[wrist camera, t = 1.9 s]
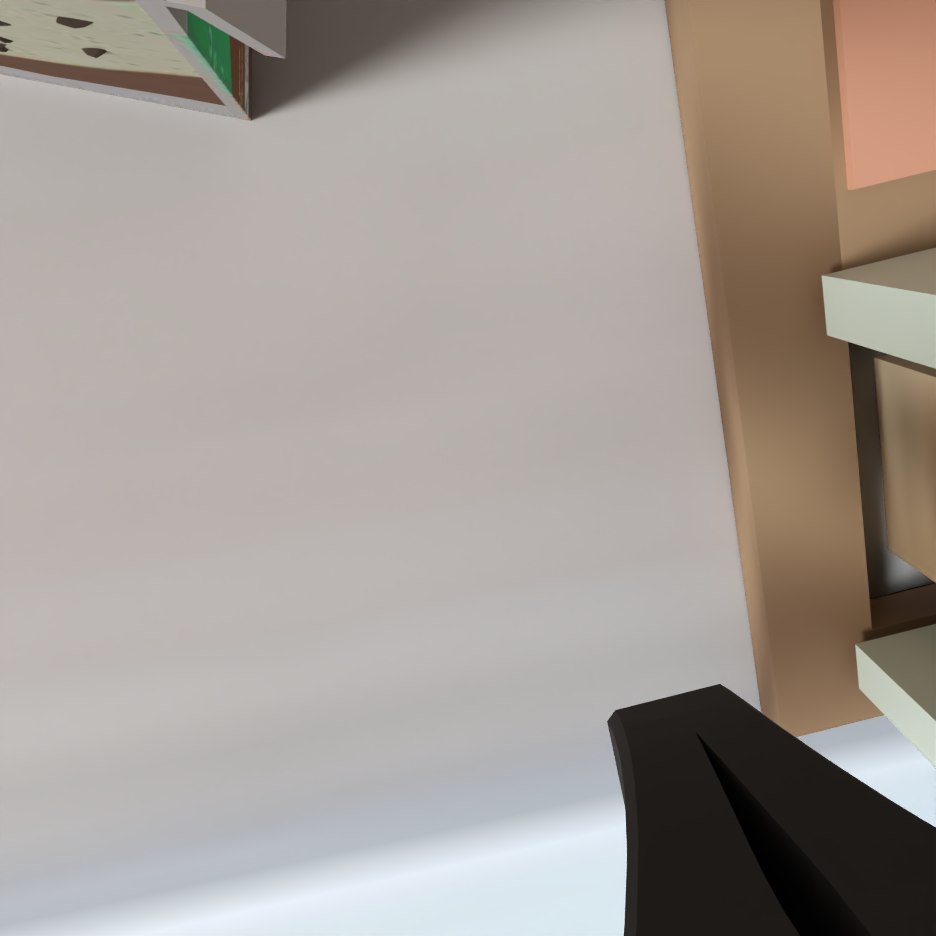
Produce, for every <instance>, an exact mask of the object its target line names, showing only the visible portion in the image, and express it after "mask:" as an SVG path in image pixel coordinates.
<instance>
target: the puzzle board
mask: <svg viewBox="0 0 936 936" xmlns="http://www.w3.org/2000/svg"><path fill="white" fill-rule="evenodd" d="M665 6H666V13H667V21H668V28H669V35H670V43H671V50H672V57H673V65H674V72H675V79H676V87H677V94H678V101H679V109H680V116H681V124H682V131H683V138H684V146H685V153H686V160H687V168H688V175H689V182H690V190H691V197H692V204H693V212H694V219H695V226H696V234H697V241H698V248H699V256H700V263H701V270H702V278H703V285H704V293H705V300H706V307H707V315H708V322H709V329H710V337H711V344H712V351H713V359H714V366H715V373H716V381H717V388H718V395H719V403H720V410H721V417H722V425H723V432H724V439H725V447H726V454H727V461H728V469H729V476H730V484H731V491H732V498H733V506H734V513H735V520H736V528H737V535H738V542H739V550H740V557H741V564H742V572H743V579H744V586H745V594H746V601H747V608H748V616H749V623H750V630H751V638H752V645H753V653H754V660H755V667H756V675H757V682H758V689H759V697H760V704H761V711H762V713H763V714H764V715H765V716H766V717H768V718H769V719H771V720H772V721H773V722H775V723H776V724H778V725H779V726H780V727H782V728H783V729H785V730H786V731H787V732H789V733H790V734H792V735H793V736H794V737H798V736H802V735H806V734H810V733H814V732H818V731H822V730H826V729H830V728H834V727H838V726H842V725H846V724H850V723H854V722H858V721H862V720H866V719H870V718H874V717H878V716H881V715H884V714H883V713H882V712H881V711H880V710H879V709H878V708H877V707H876V705H875V704H874V703H873V702H872V701H871V700H870V699H869V698H868V697H867V696H866V695H865V694H864V693H863V692H862V691H861V690H860V689H859V681H858V670H857V659H856V648H855V644H857V643H861V642H865V641H869V640H873V639H877V638H881V637H885V636H889V635H893V634H897V633H901V632H905V631H909V630H913V629H917V628H921V627H925V626H929V625H933V624H936V583H935V584H931V585H927V586H923V587H919V588H915V589H911V590H907V591H903V592H899V593H895V594H891V595H887V596H883V597H879V598H875V599H871V600H870V599H869V587H868V575H867V563H866V551H865V539H864V527H863V515H862V503H861V491H860V479H859V467H858V455H857V443H856V431H855V418H854V406H853V394H852V382H851V370H850V358H849V346H848V342H847V341H844V340H841V339H838V338H834V337H831V336H828V335H827V329H826V318H825V307H824V296H823V285H822V275H826V274H830V273H834V272H838V271H842V270H846V269H850V268H854V267H858V266H862V265H866V264H871V263H875V262H879V261H883V260H887V259H891V258H895V257H899V256H903V255H907V254H911V253H915V252H919V251H924V250H928V249H932V248H936V0H665Z"/></svg>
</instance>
